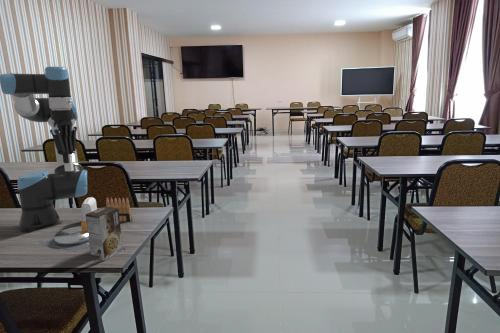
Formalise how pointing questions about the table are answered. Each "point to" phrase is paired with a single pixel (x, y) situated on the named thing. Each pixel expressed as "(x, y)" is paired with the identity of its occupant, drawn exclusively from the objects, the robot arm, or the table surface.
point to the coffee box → (104, 232)
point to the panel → (71, 248)
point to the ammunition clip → (121, 208)
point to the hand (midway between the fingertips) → (69, 170)
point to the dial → (72, 235)
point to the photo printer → (88, 207)
